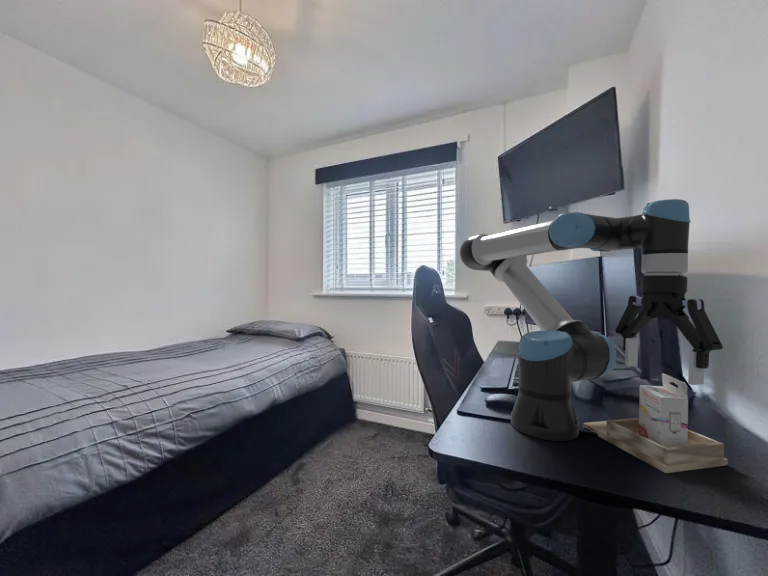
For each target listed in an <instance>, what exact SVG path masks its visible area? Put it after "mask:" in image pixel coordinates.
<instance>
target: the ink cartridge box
mask: <svg viewBox="0 0 768 576" xmlns="http://www.w3.org/2000/svg"><path fill="white" fill-rule="evenodd" d="M661 380H662V385H644V384H643V385H642V384H640V385H639V401H638V402H639V404H638V407H639V408H638V409H639V410H638V418H639V435H641V436H643V437H645V438H647V439H650V440H652V441H654V442H656V443H658V444H660V445H662V446H664V447H666V448H670V447H679V446H687V437H688V430H689V429H688V427H689V426H688V425H689V398H688V397H689V396H688V385H687V383H686V382H684V381H682V380H679V379H677V378H675V377H673V376H671V375H668V374H666V373H662V374H661ZM671 383H674V385H676V386H677V387H676V386H674V385H672V384H671Z"/></svg>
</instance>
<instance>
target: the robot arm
mask: <svg viewBox="0 0 768 576" xmlns="http://www.w3.org/2000/svg"><path fill="white" fill-rule="evenodd" d="M690 223H691V219H690V204H689V202H688V201H686V200H684V199H680V198H679V199H678V198H677V199H676V198H673V199H672V198H670V199H661V200H660V199H659V200H655V201H651V202H648V203H646V204H644V206H643V208H642V214H641V213H640V214H636V215H631V216H630V215H629V216H625V217H624V216H623V217H610V216H603V215H596V214H590V213H589V214H588V213H583V212H580V211H579V212H578V211H573V212H568V211H567V212H563V213H560V214H559V215H557V216H556V218H554V219H553V220H549V221H548V220H547V221H544V222H540V223H536V224H533V225H532V224H531V225H529V226H524V227H520V228H516V229H511V230H507V231H504V232H499V233H495V234H491V235H489V234H487V233H486V234H485V233H481V234H476V235H472V236H470V237H468V238H466V239H465V240H464V241H463V242H462V244H461V245H460V249H459V256H460V259H461V261H462V264H464V265H465V266H466V267H467V268H468V269H470V270H475V271H485V272H487V271H488V272H490V273H491V274H492V276H493V277H494V278H495V279H496V280H497V281H498V282H504V285H506V286H507V288H508V289H509V290H510V292H511V293H512V294H513V296H514V297H515V298H516V299H517V301H518V302H519V303H520V305H521V307H522V308H523V309H524V310H525V311H526V313H527V314H528V315H529V316H530V318H531V319H532V321H533V322H534V323H535V324H536V326H537V327H538V329H539V330H536V331H535V330H534V331H531V332H527V333H524V334H523V335H522V336H521V337H520V339H519V347H518V351H517V353H518V394H517V397H516V399H515V401H514V404H513V409H512V410H511V413H510V424H511V425H512V427H513V428H514V429H515V430H517V431H518V432H520V433H522V434H525V435H526V436H529V437H532V438H536V439H539V440H545V441H554V442H566V441H567V442H568V441H572V440H574V439H576V438H578V437H579V434H580V433H579V432H580V426H579V421H578V419H577V415H576V412H575V408H574V406H573V403H572V383H575V382H581V381H589V380H596V379H599V378H602V377H605V376H607V375H608V374H610V373H611V372H612V371H613V370H614V368H615V366H616V364H617V352H616V348H615V346H614V344H613V342H612V341H611V340H610V338H609V337H607V336H606V335H604V334H601V333H598V332H592V331H591V329H590V328H589V327H588V326H587V325H586V324H585V323H584V321H582V320H581V319H573V318H572V316H570V314H569V313H568V312H567V311H566V310H565V309H564V308H563V306H562V305H561V304H560V303H559V302H558V301H557V299H556V298H555V297H554V296H553V294H552V293H551V292H550V291H549V290H548V289H547V288H546V286H545V285H544V284H543V283H542V282H541V280H540V279H538V277H537V276H536V275H535V274H534V273H533V271H531V269H530V268H529V267H528V259H527V257H528V256H532V255H538V254H540V255H541V254H544V253H546V254H547V253H551V252H553V253H554V252H560V251H567V250H568V251H569V250H575V249H589V250H591V251H593V252H612V251H622V250H632V249H637V250H639V249H641V251H642V252H641V268H640V270H641V273H642V274H644V275H643V276H642V277H640V278H641V279H640V291H641V292H642V294H643V295H642V296H641V295H630V296H628V300H627V301H628V302H627V306H626V308H625V310H624V312H623V313H622V316H621V318H620V320H619V322H618V324H617V325H616V327H615V333H616V334H619V335H621V336H622V338H623V339H622V340H623V341H622V343H623V344H622V345H623V346H622V349H623V351H624V352H625V353H624V366H625V367H628V368H629V367H638V364H639V363H638V361H639V360H638V359H639V338H638V336H637V335H638V334H639V332H640V331H641V330H643V329H644V327H646V325H647V324H648V323H650V321H651V320H653V319H662V320H669V322H672V323H674V325H675V326H676V328H677V329H678V331H680V332H681V335H683V337H684V338H685V339H686V340H687V341H688V343H689V344H690V346H691V347H692V348H693V349H691V350H688V351H689V352H688V378H687V384H688V385H692V386H698V385H704V383H705V380H704V379H705V369H708V368H709V366H710V364H709V363H710V352H712V351H718V350H719V351H720V350H723V348H724V347H723V346H724V345H723V343H722V342H721V341H720V338H719V336H718V334H717V331H715V328H714V326H713V324H712V323H711V321H710V319H709V318H710V317H708V315H707V312H706V310H705V301H704V300H703V299H701V298H691V299H686V297H685V295H686V293H687V292H688V277H687V276H686V275H684V274H687V273H688V272H689V270H688V267H689V239H690V236H689V235H690ZM641 307H643V308H642V309H641ZM684 309H685V310H687V311H688V314H687V313H686V312H685V311H684ZM688 315H689V316H688ZM690 319H691V320H690ZM691 321H692V322H691Z"/></svg>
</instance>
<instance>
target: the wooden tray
mask: <svg viewBox="0 0 768 576" xmlns="http://www.w3.org/2000/svg"><path fill="white" fill-rule="evenodd" d="M583 427H585V428H587V429H590V430H592V431H594V432H596V433H597V434H598V436H597V437H598V438H601V439H602V440H604V441H607V442H608V443H610V444H612V445H614V446H616V447H617V448H619V449H621V450H623V451H624V452H626V453H628V454H630V455H632V456H633V457H636V459H639V460H641V461H643V462H645V463H647V464H648V465H650V466H651V467H653V468H655V469H657V470H659V471H661V472H663V473H664V474H671V473H677V472H678V473H679V472H685V471H694V470H699V469H700V470H702V469H708V468H710V469H711V468H715V467H717V468H718V467H723V466H728V463H729V461H728V458H726V457H725V443H723V442H720V441H717V440H715V439H713V438H710V437H708V436H705V435H703V434H701V433H698V432H696V431H693V430H690V429H688V437H687V446H679V447H670V448H666V447H664V446H662V445H660V444H658V443H656V442H654V441H652V440H650V439H647V438H645V437H643V436H641V435H639V417H637V418H634V417H633V418H626V419H625V418H623V419H612V420H604V421H603V420H602V421H601V420H600V421H590V422H583V423H582V428H583Z"/></svg>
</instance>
